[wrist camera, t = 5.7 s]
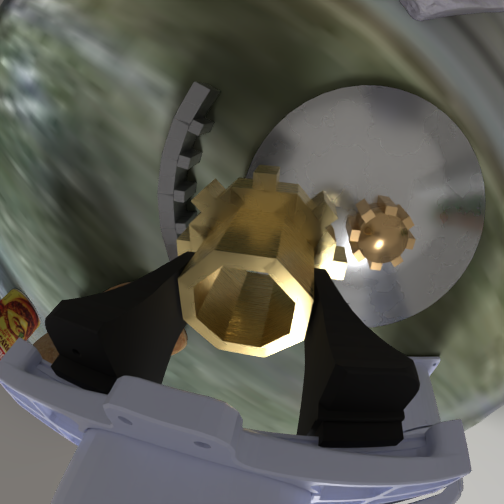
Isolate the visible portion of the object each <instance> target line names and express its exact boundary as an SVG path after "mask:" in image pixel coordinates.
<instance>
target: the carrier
mask: <svg viewBox="0 0 504 504" xmlns="http://www.w3.org/2000/svg"><path fill="white" fill-rule="evenodd" d="M220 92H221V91H219V90H218V89H216V88H214V87H212V86H210V85H209V84H206V83H201V82H195V81H194V83H193V85H192V86H191V88H190V90H189V91H188V93H187V95H186V96H185V98H184V100H183V102H182V103H181V105H180V107H179V109H178V111H177V112H176V114H175V116H174V118H173V121H172V124H171V127H170V130H169V133H168V136H167V139H166V143H165V146H164V149H163V152H162V156H161V164H160V173H159V183H158V206H159V218H160V228H161V232H162V236H163V239H164V243H165V246H166V250H167V254H168V257H169V260H170V261H171V260H173V259H175V258H176V257H178V251H177V238H178V237H179V236H180V235H181V234H182V233H183V232H184V231H185V229H186V228H187V227H189V224H190V223H191V221H192V220H193V219H194V218H195V217H196V216H197V212H196V211H187V204H186V200H188V199H189V198H190V197H191V196H192V195H193V194H194V193H195V192H196V184H197V182H193V181H187V174H188V169H189V168H191V167H193V166H194V165H196V164H198V163H199V162H200V160H201V156H202V152H201V151H198V150H194V149H192V148H193V146H194V143H195V140H196V137H197V136H200V135H203V134H206V133H209V132H210V131H211V129H212V127H213V125H214V123H215V122H213V121H211V120H209V119H207V118H205V116H206V115H207V113H208V111H209V110H210V108H211V107H212V105H213V103H214V102H215V100H216V98H217V97H218V95H219V94H220ZM259 165H268V166H278V167H280V176H279V182H285V183H293V184H299V185H300V186H301V188H302V189H303V190H304V191H305V192H306V194H307V195H308V196H309V197H310V199H312V198H313V197H315V196H316V195H317V194H319V193H320V192H321V191H324V192H325V193H326V195H327V196H328V197H329V199H330V200H331V201H332V203H333V204H334V205H335V207H336V212H337V216H338V219H337V220H335V221H334V222H332V223H331V225H332V227H333V228H334V232H335V238H336V246H341V247H345V252H346V257H347V262H348V264H347V267H346V271H345V275H344V279H343V280H339V279H332V281H333V282H334V284H335V286H336V287H337V289H338V290H339V292H340V294H341V295H342V297H343V298H344V300H345V301H346V302H347V304H348V305H349V306H350V308H351V309H352V310H353V312H354V313H355V314H356V315H357V316H358V317H359V318H360V319H361V320H362V322H363V323H364V324H365V325H366V326H367V327H377V326H382V325H388V324H391V323H395V322H398V321H401V320H404V319H406V318H408V317H411V316H413V315H415V314H417V313H419V312H421V311H422V310H424V309H426V308H427V307H429V306H430V305H432V304H433V303H435V302H436V301H437V300H439V299H440V298H441V297H442V296H443V295H444V294H445V293H447V292H448V291H449V290H450V288H451V287H452V286H453V285H454V284H455V283H456V282H457V281H458V279H459V278H460V277H461V275H462V274H463V273H464V271H465V270H466V268H467V266H468V265H469V263H470V261H471V259H472V258H473V255H474V253H475V251H476V248H477V246H478V243H479V240H480V237H481V233H482V230H483V224H484V218H485V202H486V200H485V188H484V181H483V177H482V172H481V169H480V166H479V163H478V160H477V157H476V155H475V153H474V151H473V149H472V147H471V145H470V143H469V141H468V140H467V138H466V137H465V136H464V134H463V133H462V131H461V130H460V129H459V127H458V126H457V125H456V124H455V123H454V122H453V121H452V120H451V119H450V118H449V117H448V116H447V115H446V114H445V113H444V112H442V111H441V110H440V109H438V108H437V107H436V106H434V105H433V104H432V103H430V102H428V101H426V100H424V99H422V98H421V97H419V96H417V95H414V94H412V93H409V92H406V91H403V90H400V89H396V88H391V87H385V86H374V85H360V86H352V87H345V88H340V89H337V90H333V91H330V92H327V93H323V94H321V95H319V96H317V97H315V98H313V99H311V100H309V101H307V102H305V103H303V104H302V105H300V106H299V107H297V108H296V109H295V110H293V111H292V112H290V113H289V114H288V115H287V116H286V117H285V118H283V119H282V120H281V121H280V122H279V123H278V124H277V125H276V126H275V127H274V128H273V130H272V131H271V132H270V133H269V134H268V136H267V137H266V138H265V139H264V141H263V142H262V144H261V146H260V147H259V149H258V151H257V152H256V154H255V156H254V158H253V160H252V162H251V165H250V167H249V170H248V172H247V175H246V178H248V179H253V172H254V171H255V170H256V168H257V167H258V166H259ZM257 273H259V274H266V275H269V274H268V273H263V272H257Z"/></svg>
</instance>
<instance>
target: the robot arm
mask: <svg viewBox="0 0 504 504" xmlns="http://www.w3.org/2000/svg"><path fill="white" fill-rule="evenodd" d="M195 253H196V252H190V251H187V252H185V253H183V254H181V255H180V256H178V257H176V258H175V259H173V260H171V261H170V262H168V263H166V264H165V265H163V266H161V267H160V268H158V269H156V270H154V271H152V272H151V273H149V274H147V275H145V276H143V277H141V278H139V279H137V280H135V281H133V282H131V283H128V284H126V285H123V286H121V287H118V288H115V289H112V290H109V291H106V292H103V293H99V294H95V295H91V296H87V297H82V298H75V299H68V300H62V301H61V302H60V303H59V304H58V305H57V306H56V307H55V308H54V309H53V311H52V312H51V313H50V314H49V315H48V316H47V317H46V319H45V326H46V330H47V332H48V334H49V336H50V338H51V340H52V342H53V344H54V346H55V347H56V349H57V351H58V353H59V355H58V357H57V358H56V359H55V361H54V362H53V364H51V363H50V362H48V361H46V360H44V359H42V356H41V354H40V353H39V351H38V350H37V348H36V347H35V346H33V345H32V344H30V343H29V342H27V341H25V340H23V339H22V338H18V339H17V341H16V342H15V343H14V344H13V345H12V346H11V348H10V349H9V350H8V351H7V353H6V354H5V355H4V356H3V357H2V359H1V360H0V383H1V385H2V386H3V387H4V388H5V389H6V391H7V392H8V393H9V394H10V395H11V397H12V398H13V399H14V400H15V401H16V402H17V403H18V404H19V405H20V406H21V407H23V408H24V409H26V410H27V411H28V412H29V413H31V414H32V415H34V416H35V417H36V418H38V419H39V420H41V421H42V422H43V423H44V424H46V425H47V426H49V427H50V428H51V429H53V430H54V431H56V432H57V433H59V434H60V435H62V436H63V437H65V438H66V439H68V440H69V441H71V442H73V443H74V444H76V445H77V446H78V447H77V449H76V451H75V453H74V455H73V457H72V459H71V461H70V463H69V465H68V467H67V469H66V471H65V473H64V476H63V477H62V480H61V482H60V484H59V486H58V488H57V490H56V492H55V494H54V497H53V499H52V501H51V503H50V504H393V503H397V502H401V501H405V500H409V499H412V498H416V497H419V496H422V495H426V494H430V493H434V492H436V491H438V490H440V489H442V488H445V487H447V488H446V489H445V490H444V491H443V492H442V493H440V494H438V495H435V496H432V497H429V498H426V499H423V500H419V501H416V502H413V503H409V504H455V503H456V501H457V500H458V499H459V498H460V496H461V492H462V491H463V478H462V477H464V476H466V475H467V474H469V473H470V472H471V465H470V459H469V454H468V448H467V443H466V439H465V433H464V429H463V425H462V421H461V419H457V420H451V421H444V422H441V421H440V417H439V412H438V408H437V404H436V399H435V395H434V391H433V388H432V384H431V380H430V377H429V376H430V375H431V373H432V372H433V371H434V369H435V368H436V366H437V365H438V364H439V362H440V357H407V356H406V355H404V354H402V353H401V352H399V351H397V350H396V349H394V348H393V347H392V346H390V345H389V344H387V343H386V342H385V341H383V340H382V339H381V338H380V337H378V336H377V335H376V334H375V333H374V332H373V331H372V330H371V329H369V328H368V327H367V326H366V325H365V324H364V323H363V322H362V320H361V319H360V318H359V317H358V316H357V315H356V314H355V313H354V312H353V310H352V309H351V308H350V306H349V305H348V304H347V302H346V301H345V300H344V298H343V297H342V295H341V294H340V292H339V290H338V289H337V287H336V286H335V284H334V282H333V281H332V279H331V277H330V275H329V273H328V272H327V270H326V269H320V268H314V301H313V305H312V309H311V314H310V318H309V322H308V326H307V330H306V334H305V338H304V343H305V373H304V384H303V393H302V401H301V409H300V416H299V423H298V429H297V435H291V434H281V433H273V432H265V431H258V430H252V429H246V428H242V423H243V419H242V418H241V416H240V414H239V412H238V411H237V410H236V409H235V408H233V407H232V406H230V405H229V404H227V403H226V402H224V401H221V400H218V399H215V398H212V397H209V396H205V395H200V394H196V393H192V392H188V391H184V390H180V389H176V388H172V387H169V386H165V385H162V381H163V377H164V374H165V371H166V368H167V365H168V363H169V360H170V357H171V354H172V352H173V349H174V347H175V344H176V342H177V340H178V338H179V336H180V334H181V333H182V331H183V329H184V327H185V325H186V323H187V322H186V321H185V320H184V319H183V315H182V308H181V301H180V293H179V285H178V278H179V276H180V275H181V273H182V272H183V270H184V269H185V267H186V266H187V264H188V263H189V261H190V260H191V259H192V257H193V256H194V254H195Z"/></svg>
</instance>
